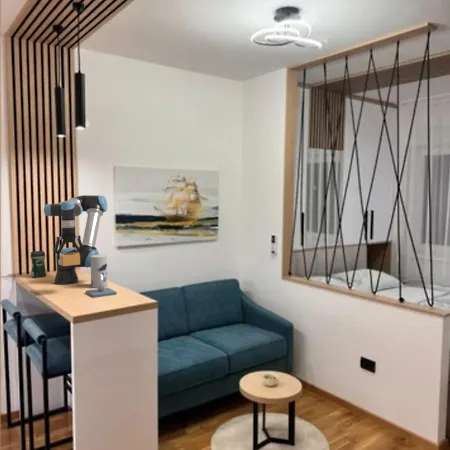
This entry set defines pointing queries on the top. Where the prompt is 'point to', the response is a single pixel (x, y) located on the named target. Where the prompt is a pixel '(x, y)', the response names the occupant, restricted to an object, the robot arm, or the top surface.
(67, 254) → the cardboard box
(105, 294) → the keeper
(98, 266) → the container
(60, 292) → the top surface
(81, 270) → the top surface
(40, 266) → the coffee jar
